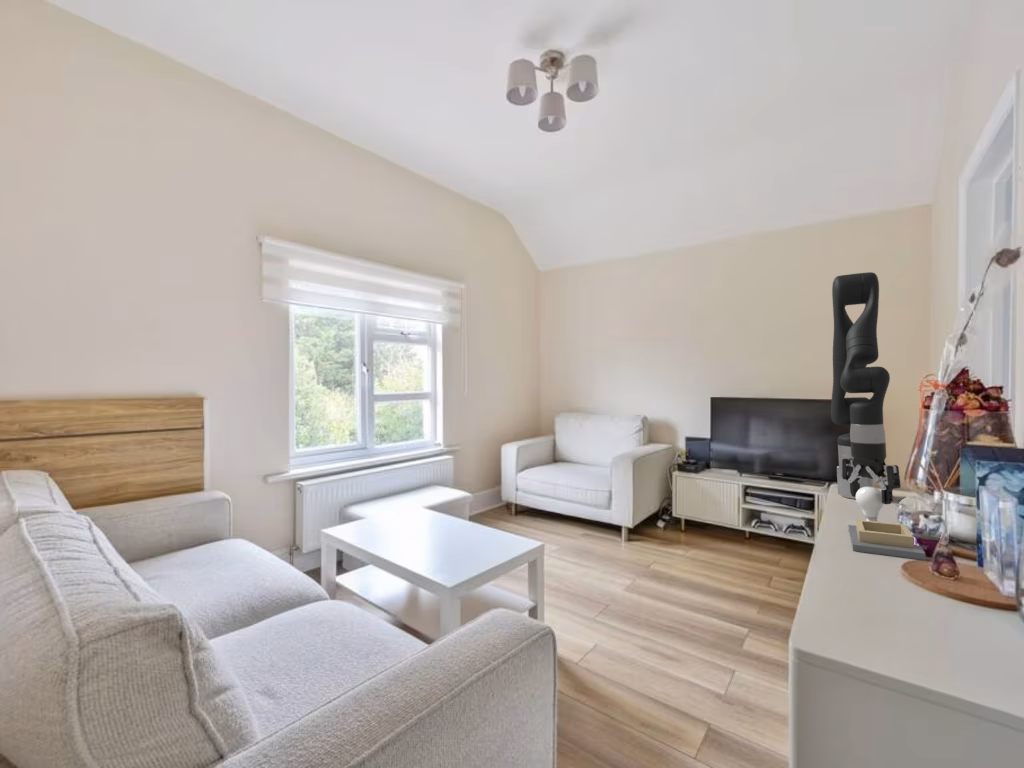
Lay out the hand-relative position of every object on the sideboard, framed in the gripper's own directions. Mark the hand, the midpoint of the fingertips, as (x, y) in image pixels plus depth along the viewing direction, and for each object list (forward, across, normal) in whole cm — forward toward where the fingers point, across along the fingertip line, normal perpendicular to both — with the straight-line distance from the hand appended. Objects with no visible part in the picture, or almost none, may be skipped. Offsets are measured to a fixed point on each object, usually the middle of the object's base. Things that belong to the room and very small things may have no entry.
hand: (870, 500), depth 123 cm
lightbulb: (+8, 0, 0) cm, 8 cm away
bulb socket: (+8, -10, +8) cm, 15 cm away
